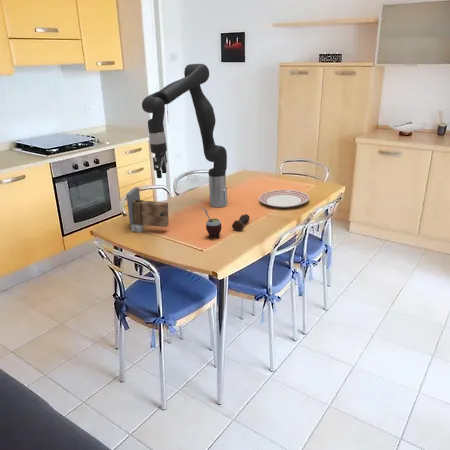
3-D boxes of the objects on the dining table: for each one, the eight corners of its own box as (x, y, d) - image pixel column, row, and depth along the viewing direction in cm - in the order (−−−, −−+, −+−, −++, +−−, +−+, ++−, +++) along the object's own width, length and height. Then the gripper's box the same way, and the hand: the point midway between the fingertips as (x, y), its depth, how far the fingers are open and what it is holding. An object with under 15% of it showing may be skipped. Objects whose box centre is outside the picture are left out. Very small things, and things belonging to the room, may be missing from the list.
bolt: (248, 224, 216) (238, 234, 203) (239, 218, 217) (230, 228, 204) (253, 215, 214) (244, 224, 200) (245, 209, 214) (235, 218, 201)
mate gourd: (225, 236, 198) (223, 205, 192) (212, 241, 192) (211, 210, 187) (213, 232, 203) (212, 202, 197) (201, 237, 197) (199, 206, 192)
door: (168, 224, 206) (168, 202, 202) (165, 228, 202) (165, 206, 197) (136, 220, 208) (135, 199, 204) (132, 224, 204) (131, 203, 199)
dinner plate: (293, 214, 222) (293, 208, 221) (249, 205, 237) (249, 199, 236) (317, 199, 242) (317, 194, 241) (275, 192, 258) (275, 187, 256)
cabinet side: (151, 221, 219) (148, 187, 213) (142, 232, 206) (138, 196, 199) (138, 221, 220) (134, 187, 214) (128, 232, 207) (124, 196, 200)
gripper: (161, 144, 191) (165, 179, 198) (169, 138, 204) (173, 171, 211) (145, 145, 192) (150, 180, 199) (154, 138, 205) (158, 171, 212)
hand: (162, 175), depth 205 cm, fingers open, 8 cm apart
